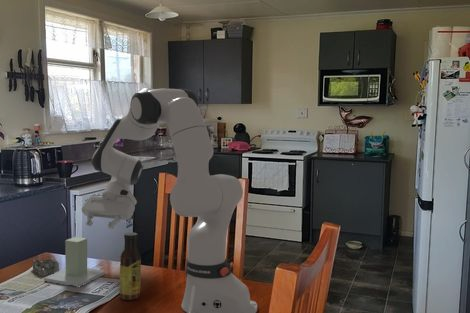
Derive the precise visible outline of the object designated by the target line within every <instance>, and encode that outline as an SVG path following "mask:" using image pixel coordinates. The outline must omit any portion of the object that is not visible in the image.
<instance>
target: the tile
mask: <svg viewBox="0 0 470 313" xmlns="http://www.w3.org/2000/svg"><path fill="white" fill-rule="evenodd" d="M104 275H106V270H103V269H97V268H91V267H87V273H85V274H83V275H81V276H79V277H74V276H69V275H66V267H64V268H63V269H59V271H58V272H56V273H54V274H53V273H51V274H48V275H46V276H45V277H43V281H44V282H45V281H47V282H46V283H51V282H53V283H52V284H56V283H60V284H59V285H62V284H66V285H65V286H67V285H73V286H78V287H79V286H81V285H83V284H85V283H87V282H89V281H91V280H93V281H94V279H95V280H97V279H98V278H100V277H102V276H104ZM91 282H92V281H91ZM89 283H90V282H89ZM87 284H88V283H87ZM85 285H86V284H85ZM83 286H84V285H83ZM78 287H77V288H78ZM81 287H82V286H81ZM79 288H80V287H79Z"/></svg>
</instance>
